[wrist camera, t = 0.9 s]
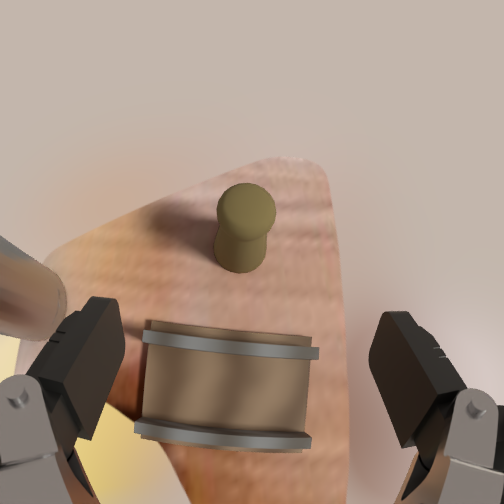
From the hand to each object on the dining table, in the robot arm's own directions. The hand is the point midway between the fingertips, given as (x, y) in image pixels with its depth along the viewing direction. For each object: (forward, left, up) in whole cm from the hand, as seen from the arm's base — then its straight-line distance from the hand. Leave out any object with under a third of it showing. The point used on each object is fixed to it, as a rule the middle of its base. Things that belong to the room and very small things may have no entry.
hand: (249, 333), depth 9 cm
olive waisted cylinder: (0, +12, -25) cm, 28 cm away
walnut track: (0, -4, -25) cm, 25 cm away
